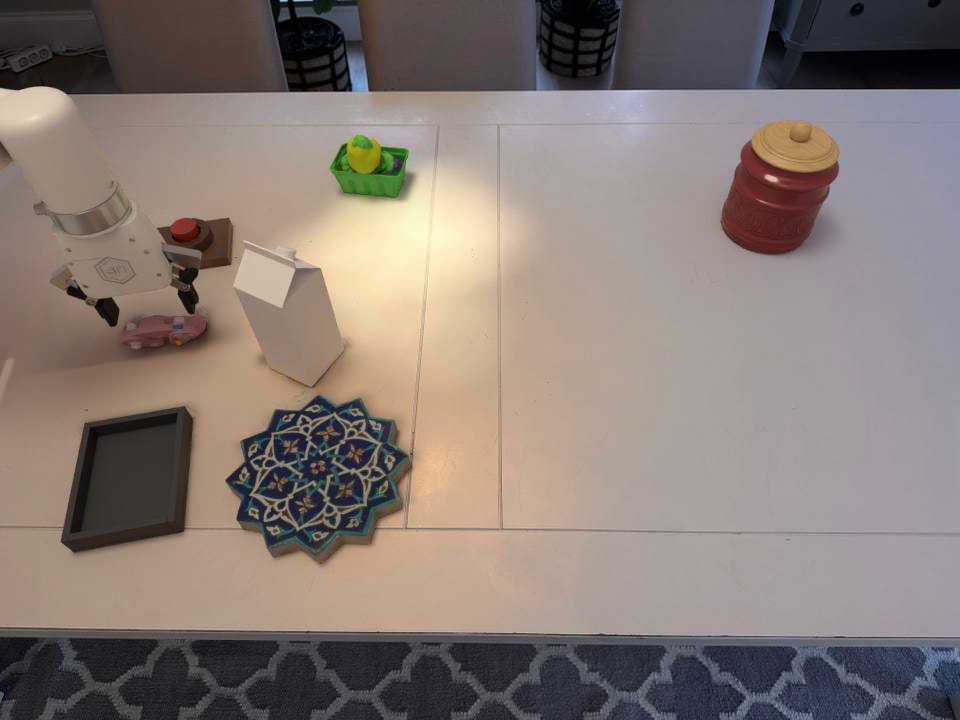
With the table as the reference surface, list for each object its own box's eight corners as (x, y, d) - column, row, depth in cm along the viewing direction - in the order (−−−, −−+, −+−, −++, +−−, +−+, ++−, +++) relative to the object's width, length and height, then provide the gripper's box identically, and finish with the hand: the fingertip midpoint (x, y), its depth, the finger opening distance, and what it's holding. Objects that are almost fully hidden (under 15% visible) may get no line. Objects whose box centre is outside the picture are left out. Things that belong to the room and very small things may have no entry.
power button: (173, 244, 98) (169, 235, 97) (175, 228, 100) (171, 219, 99) (199, 241, 98) (194, 231, 97) (200, 225, 101) (196, 216, 99)
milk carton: (312, 388, 85) (271, 282, 70) (268, 367, 87) (220, 260, 72) (345, 350, 89) (314, 241, 74) (303, 331, 91) (264, 221, 76)
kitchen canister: (703, 210, 105) (734, 106, 91) (776, 192, 107) (816, 88, 93) (749, 265, 97) (790, 160, 83) (826, 244, 99) (879, 139, 85)
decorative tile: (264, 400, 84) (258, 389, 82) (421, 411, 82) (419, 400, 81) (208, 553, 72) (200, 544, 70) (391, 570, 70) (388, 561, 68)
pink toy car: (137, 358, 91) (111, 346, 84) (135, 325, 92) (110, 311, 85) (211, 348, 92) (192, 335, 85) (209, 315, 93) (190, 301, 86)
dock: (73, 552, 72) (60, 542, 70) (95, 435, 82) (84, 422, 79) (183, 531, 73) (174, 520, 71) (193, 418, 83) (184, 405, 81)
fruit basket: (413, 174, 112) (405, 112, 103) (400, 208, 107) (391, 146, 98) (347, 168, 114) (334, 107, 105) (331, 201, 108) (316, 140, 99)
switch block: (154, 276, 98) (144, 258, 96) (160, 236, 104) (151, 218, 101) (230, 264, 100) (223, 247, 97) (232, 225, 105) (225, 207, 102)
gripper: (-4, 241, 69) (79, 346, 83) (168, 215, 71) (222, 323, 85) (13, 196, 74) (89, 302, 88) (174, 173, 76) (224, 281, 89)
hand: (154, 312), depth 86 cm, fingers open, 9 cm apart
